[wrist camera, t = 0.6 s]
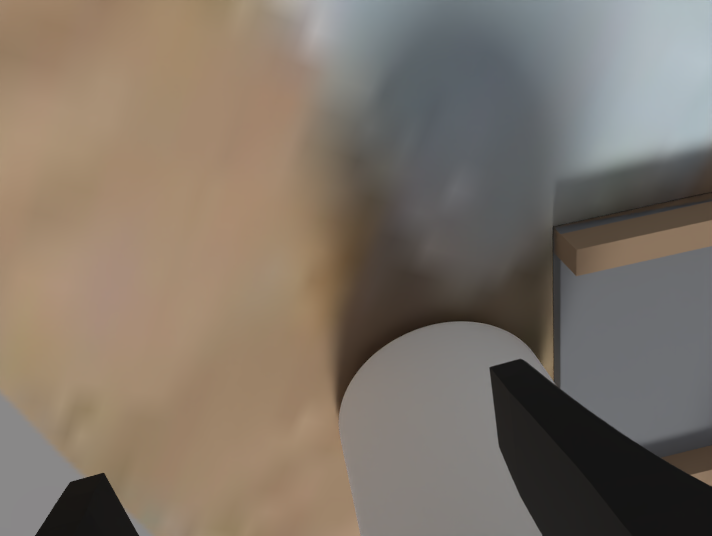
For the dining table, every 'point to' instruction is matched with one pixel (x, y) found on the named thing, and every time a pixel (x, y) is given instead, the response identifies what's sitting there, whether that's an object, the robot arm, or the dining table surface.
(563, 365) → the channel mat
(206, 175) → the dining table surface
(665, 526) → the robot arm
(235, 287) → the dining table surface
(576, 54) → the dining table surface
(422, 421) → the beverage can
